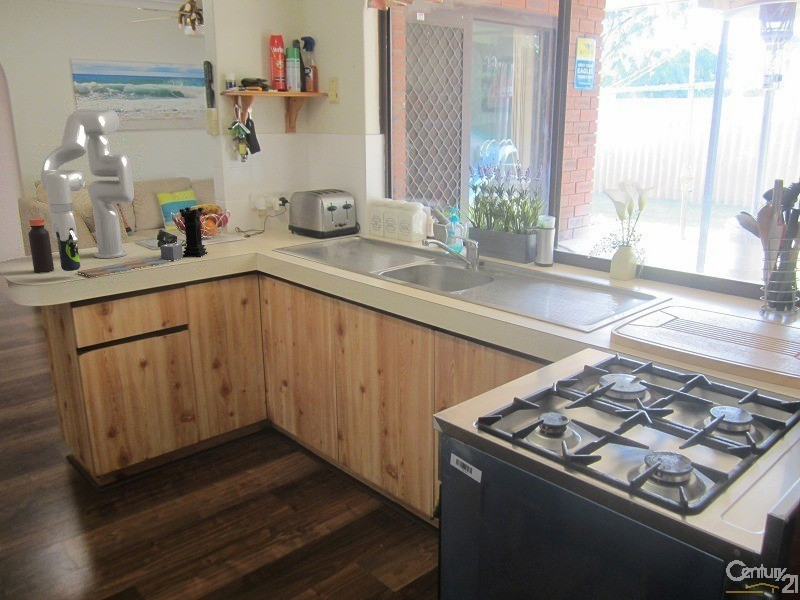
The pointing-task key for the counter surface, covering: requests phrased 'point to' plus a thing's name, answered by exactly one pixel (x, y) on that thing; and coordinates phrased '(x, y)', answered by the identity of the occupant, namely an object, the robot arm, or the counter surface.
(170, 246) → the die
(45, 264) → the bottle
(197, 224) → the chess piece
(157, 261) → the board
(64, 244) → the beverage can
